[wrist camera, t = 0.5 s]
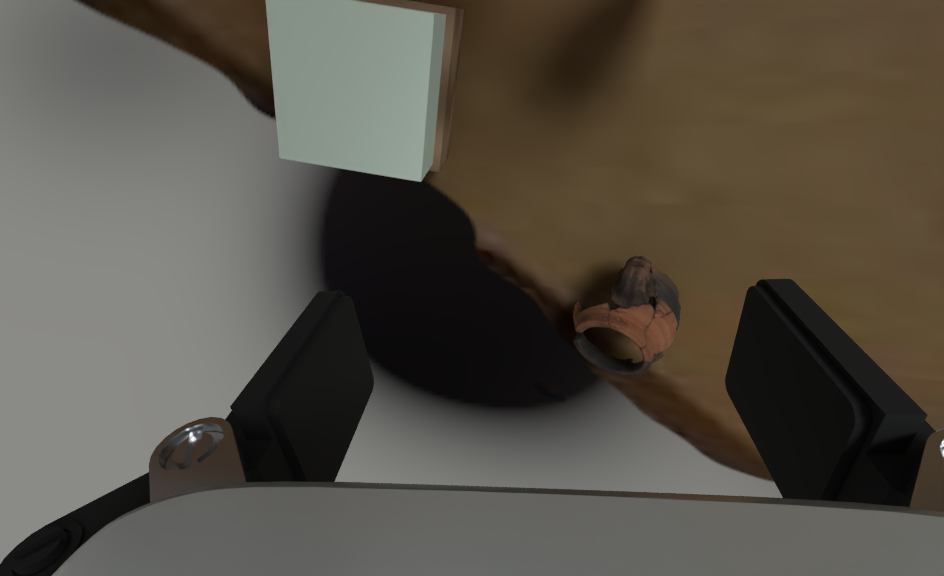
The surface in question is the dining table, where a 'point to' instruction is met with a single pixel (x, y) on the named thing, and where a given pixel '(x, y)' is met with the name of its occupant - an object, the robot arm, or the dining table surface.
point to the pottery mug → (632, 317)
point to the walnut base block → (447, 71)
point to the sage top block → (356, 84)
